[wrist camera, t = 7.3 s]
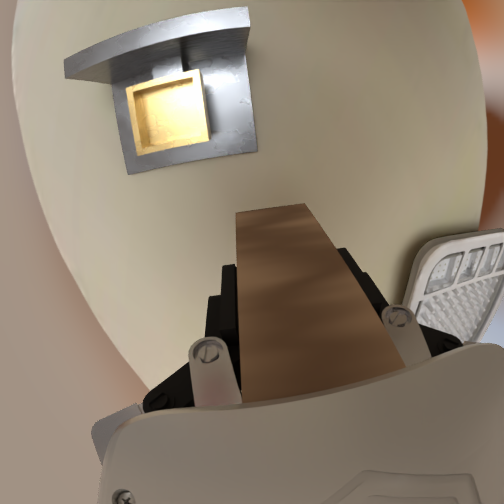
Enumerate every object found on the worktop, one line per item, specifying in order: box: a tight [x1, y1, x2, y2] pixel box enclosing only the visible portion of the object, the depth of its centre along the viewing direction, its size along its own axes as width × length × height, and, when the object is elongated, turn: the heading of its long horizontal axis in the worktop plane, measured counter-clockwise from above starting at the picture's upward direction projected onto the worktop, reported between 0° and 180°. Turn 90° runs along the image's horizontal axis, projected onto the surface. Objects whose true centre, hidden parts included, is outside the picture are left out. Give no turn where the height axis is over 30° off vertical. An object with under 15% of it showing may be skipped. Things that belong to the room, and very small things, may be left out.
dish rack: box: [402, 228, 504, 343], centre depth 42 cm, size 32×37×8 cm
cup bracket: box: [64, 7, 258, 175], centre depth 22 cm, size 16×14×12 cm
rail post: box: [236, 203, 406, 403], centre depth 10 cm, size 4×4×14 cm
